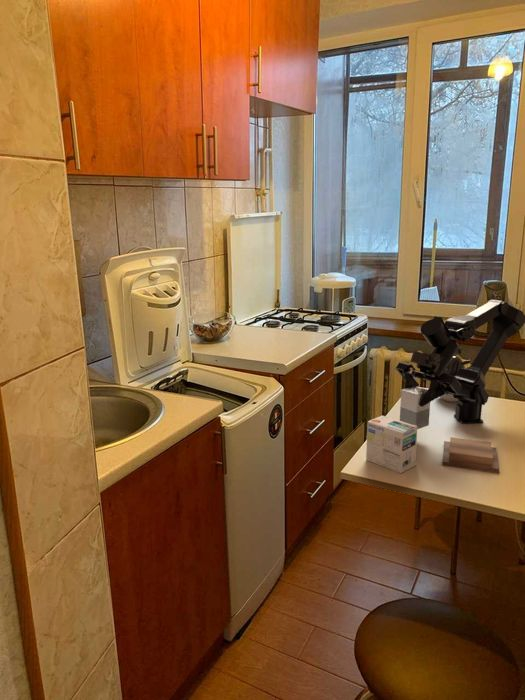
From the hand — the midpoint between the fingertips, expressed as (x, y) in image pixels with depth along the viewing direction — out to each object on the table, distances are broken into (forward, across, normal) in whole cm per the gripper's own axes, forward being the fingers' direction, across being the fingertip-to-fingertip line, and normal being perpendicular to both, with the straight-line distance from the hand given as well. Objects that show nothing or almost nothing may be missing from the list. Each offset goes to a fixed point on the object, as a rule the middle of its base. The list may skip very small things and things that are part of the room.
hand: (411, 402), depth 146 cm
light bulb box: (+18, +6, -2) cm, 19 cm away
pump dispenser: (-19, -14, +35) cm, 42 cm away
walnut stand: (+5, +16, +11) cm, 20 cm away
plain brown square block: (+4, 0, +6) cm, 7 cm away
